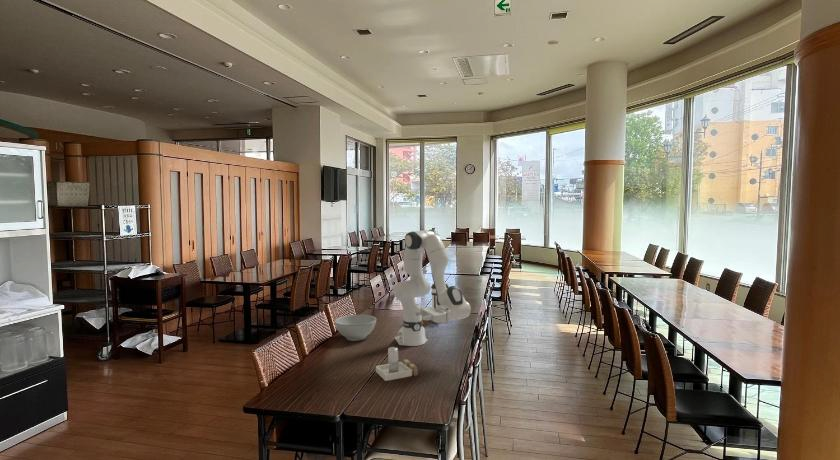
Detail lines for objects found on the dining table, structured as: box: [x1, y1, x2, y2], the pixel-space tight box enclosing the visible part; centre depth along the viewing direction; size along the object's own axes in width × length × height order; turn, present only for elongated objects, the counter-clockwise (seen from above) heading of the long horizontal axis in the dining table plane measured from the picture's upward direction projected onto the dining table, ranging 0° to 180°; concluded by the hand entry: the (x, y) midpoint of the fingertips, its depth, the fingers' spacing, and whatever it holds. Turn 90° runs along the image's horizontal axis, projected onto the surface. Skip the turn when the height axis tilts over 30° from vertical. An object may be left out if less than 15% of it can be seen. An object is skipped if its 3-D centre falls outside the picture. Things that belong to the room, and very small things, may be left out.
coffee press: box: [430, 282, 450, 308], centre depth 336 cm, size 17×16×30 cm
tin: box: [422, 319, 431, 327], centre depth 324 cm, size 15×3×8 cm, turn 105°
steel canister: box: [387, 346, 399, 373], centre depth 232 cm, size 5×5×12 cm
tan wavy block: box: [402, 358, 419, 376], centre depth 236 cm, size 14×2×4 cm, turn 25°
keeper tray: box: [375, 361, 413, 382], centre depth 233 cm, size 14×14×3 cm
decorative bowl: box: [334, 314, 377, 342], centre depth 298 cm, size 27×27×12 cm
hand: (418, 316), depth 240 cm, fingers open, 8 cm apart
